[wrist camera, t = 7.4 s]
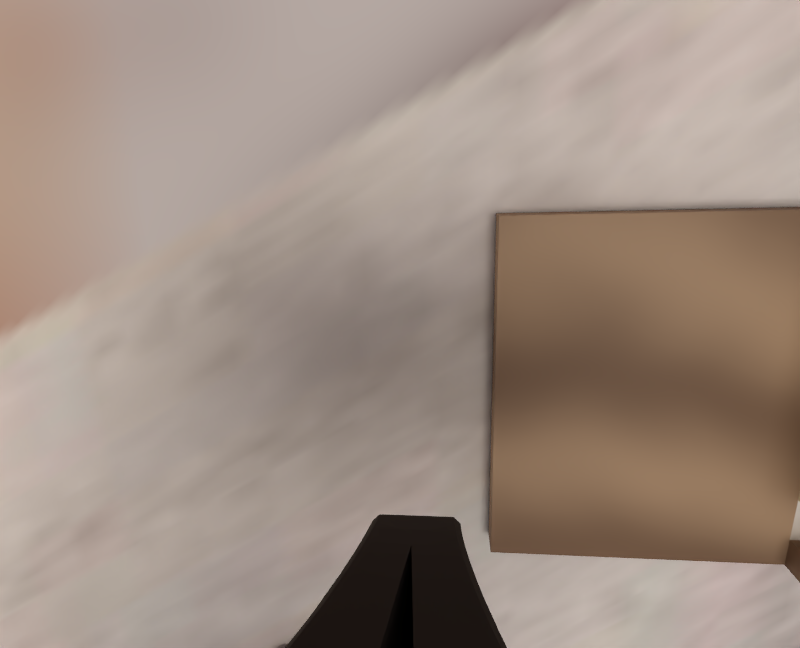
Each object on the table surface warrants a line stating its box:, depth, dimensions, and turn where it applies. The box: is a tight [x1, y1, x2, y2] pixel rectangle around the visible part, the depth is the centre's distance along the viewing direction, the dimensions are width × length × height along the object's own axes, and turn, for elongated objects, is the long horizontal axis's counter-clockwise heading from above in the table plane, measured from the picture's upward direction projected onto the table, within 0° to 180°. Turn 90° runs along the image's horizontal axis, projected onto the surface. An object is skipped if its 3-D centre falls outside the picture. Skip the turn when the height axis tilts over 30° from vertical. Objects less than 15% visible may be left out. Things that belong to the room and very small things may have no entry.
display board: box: [489, 207, 800, 582], centre depth 16 cm, size 12×18×4 cm, turn 92°
